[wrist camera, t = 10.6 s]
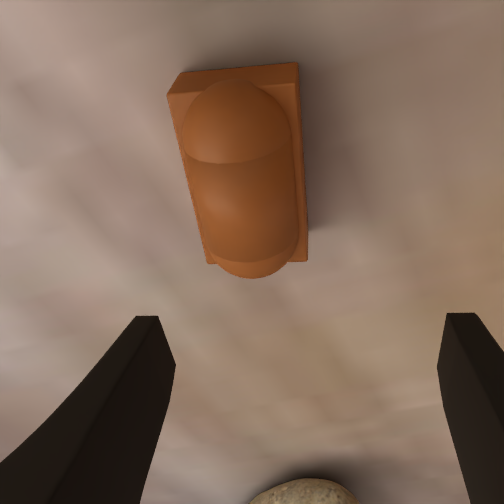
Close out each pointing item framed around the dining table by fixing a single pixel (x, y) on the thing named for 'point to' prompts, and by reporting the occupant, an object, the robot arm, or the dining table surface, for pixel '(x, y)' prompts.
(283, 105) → the bread
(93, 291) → the dining table surface
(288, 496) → the rock
